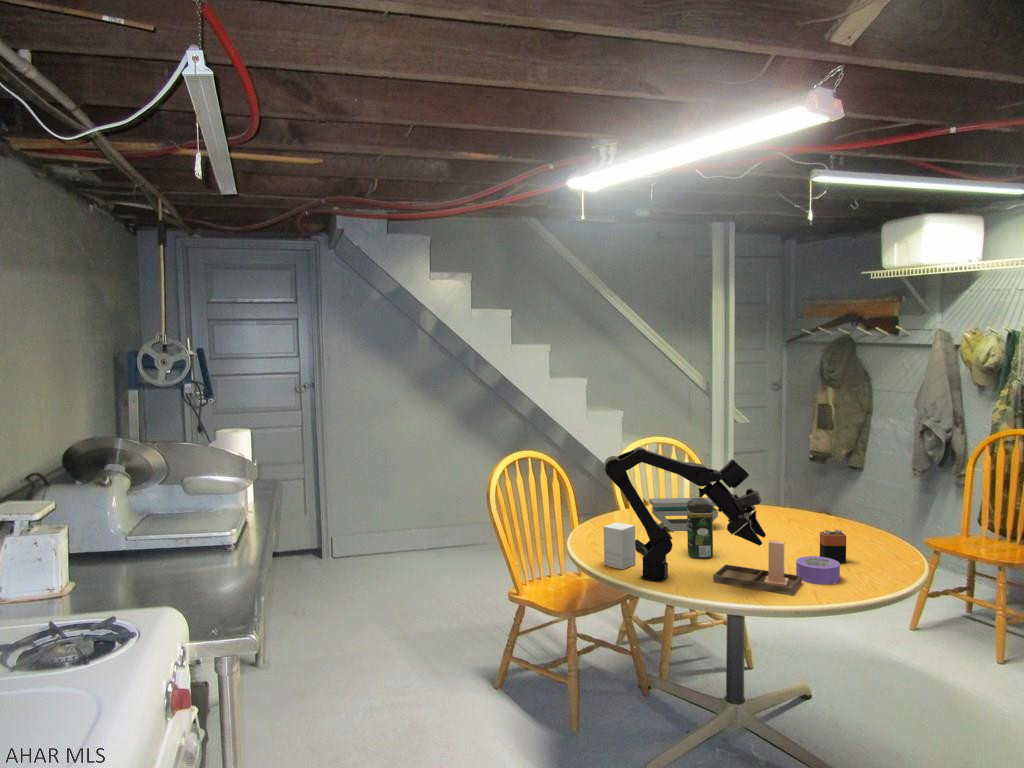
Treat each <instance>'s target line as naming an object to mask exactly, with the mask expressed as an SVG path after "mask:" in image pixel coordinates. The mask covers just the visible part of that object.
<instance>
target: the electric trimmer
mask: <svg viewBox="0 0 1024 768" xmlns="http://www.w3.org/2000/svg"><path fill="white" fill-rule="evenodd" d="M645 544H646V543H643V542H642V541H640V540H639V539H636V538H635V550H637V552H638V551H639V553H642V554H643V556H645V555H646V554H645V551H644V548H643V546H644V545H645Z"/></svg>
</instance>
